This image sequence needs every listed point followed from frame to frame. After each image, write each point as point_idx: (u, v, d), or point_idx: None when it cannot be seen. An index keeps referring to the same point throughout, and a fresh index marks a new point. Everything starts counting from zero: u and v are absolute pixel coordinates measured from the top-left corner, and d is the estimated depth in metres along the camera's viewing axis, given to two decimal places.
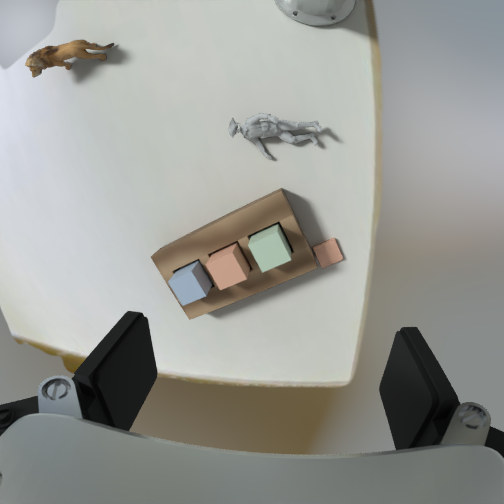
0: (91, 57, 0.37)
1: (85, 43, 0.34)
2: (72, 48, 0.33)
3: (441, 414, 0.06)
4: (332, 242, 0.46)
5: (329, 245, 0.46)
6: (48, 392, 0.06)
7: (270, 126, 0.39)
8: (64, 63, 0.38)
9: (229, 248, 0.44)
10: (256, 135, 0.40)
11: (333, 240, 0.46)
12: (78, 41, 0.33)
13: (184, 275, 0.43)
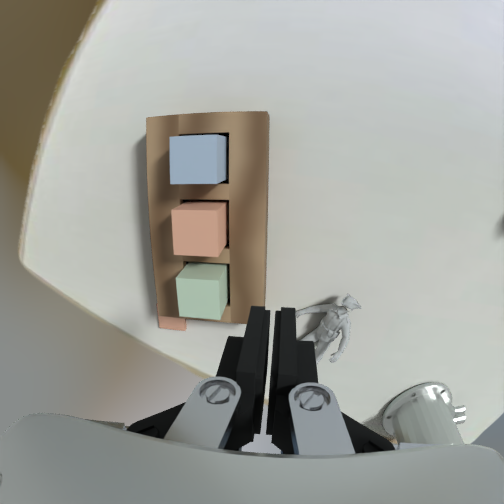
0: None
1: None
2: None
3: (283, 390, 0.08)
4: (181, 326, 0.39)
5: (179, 323, 0.39)
6: (207, 391, 0.07)
7: (329, 337, 0.35)
8: None
9: (223, 237, 0.30)
10: (328, 320, 0.34)
11: (183, 328, 0.39)
12: None
13: (215, 168, 0.25)
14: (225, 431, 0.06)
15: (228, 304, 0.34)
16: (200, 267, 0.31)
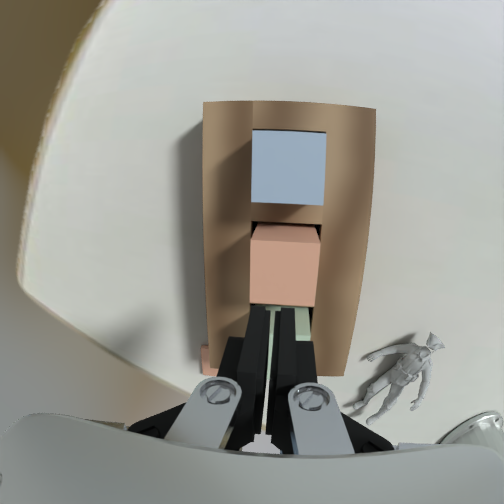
0: None
1: None
2: None
3: (283, 390, 0.08)
4: None
5: None
6: (207, 391, 0.07)
7: (406, 381, 0.27)
8: None
9: None
10: (407, 363, 0.26)
11: None
12: None
13: (321, 183, 0.17)
14: (226, 431, 0.06)
15: None
16: None
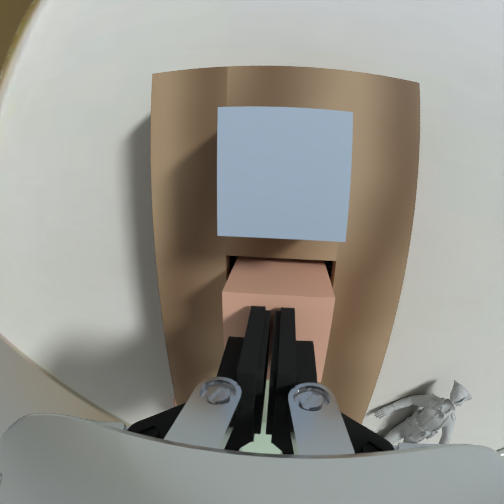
0: None
1: None
2: None
3: (283, 390, 0.08)
4: None
5: None
6: (207, 391, 0.07)
7: (422, 437, 0.19)
8: None
9: None
10: (425, 420, 0.18)
11: None
12: None
13: (344, 202, 0.09)
14: (226, 431, 0.06)
15: None
16: None
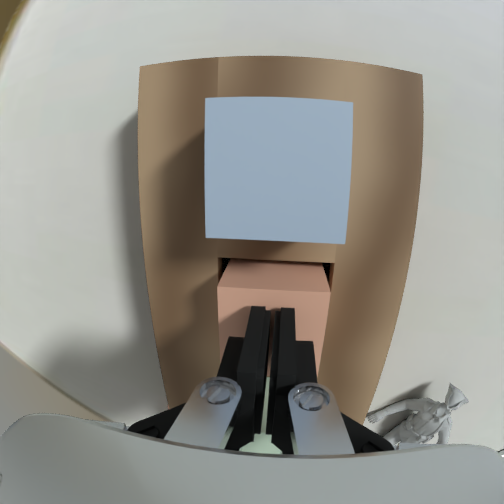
0: None
1: None
2: None
3: (283, 390, 0.08)
4: None
5: None
6: (207, 391, 0.07)
7: (418, 441, 0.18)
8: None
9: None
10: (420, 424, 0.18)
11: None
12: None
13: (343, 201, 0.09)
14: (226, 431, 0.06)
15: None
16: None
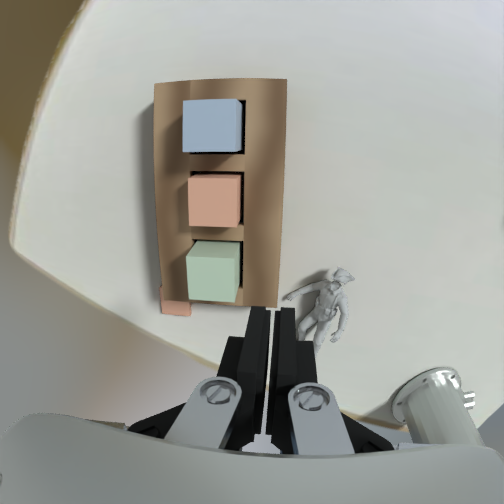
0: None
1: None
2: None
3: (283, 390, 0.08)
4: (186, 311, 0.36)
5: (184, 307, 0.36)
6: (207, 391, 0.07)
7: (327, 316, 0.33)
8: None
9: (240, 208, 0.29)
10: (322, 298, 0.32)
11: (188, 314, 0.37)
12: None
13: (233, 135, 0.23)
14: (226, 431, 0.06)
15: (240, 286, 0.31)
16: (211, 245, 0.29)
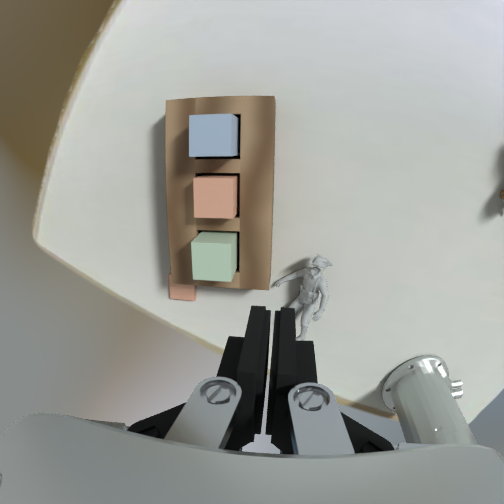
0: None
1: None
2: None
3: (283, 390, 0.08)
4: (191, 296, 0.42)
5: (189, 293, 0.42)
6: (208, 391, 0.07)
7: (311, 299, 0.38)
8: None
9: (237, 204, 0.35)
10: (305, 283, 0.38)
11: (193, 298, 0.42)
12: None
13: (229, 143, 0.28)
14: (226, 431, 0.06)
15: (237, 271, 0.37)
16: (212, 235, 0.35)
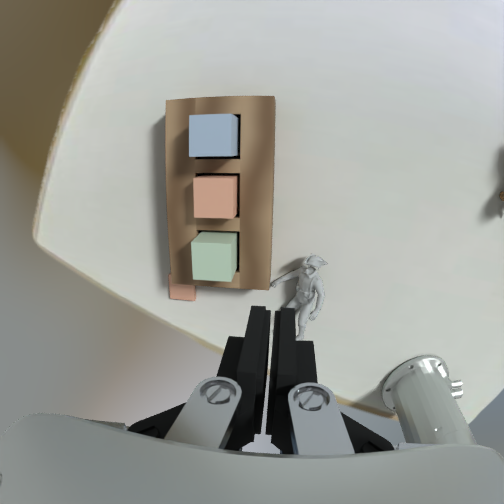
0: None
1: None
2: None
3: (283, 390, 0.08)
4: (191, 296, 0.42)
5: (189, 293, 0.42)
6: (208, 391, 0.07)
7: (307, 298, 0.38)
8: None
9: (237, 204, 0.35)
10: (301, 283, 0.38)
11: (193, 298, 0.42)
12: None
13: (229, 143, 0.28)
14: (226, 431, 0.06)
15: (237, 271, 0.37)
16: (212, 235, 0.35)
